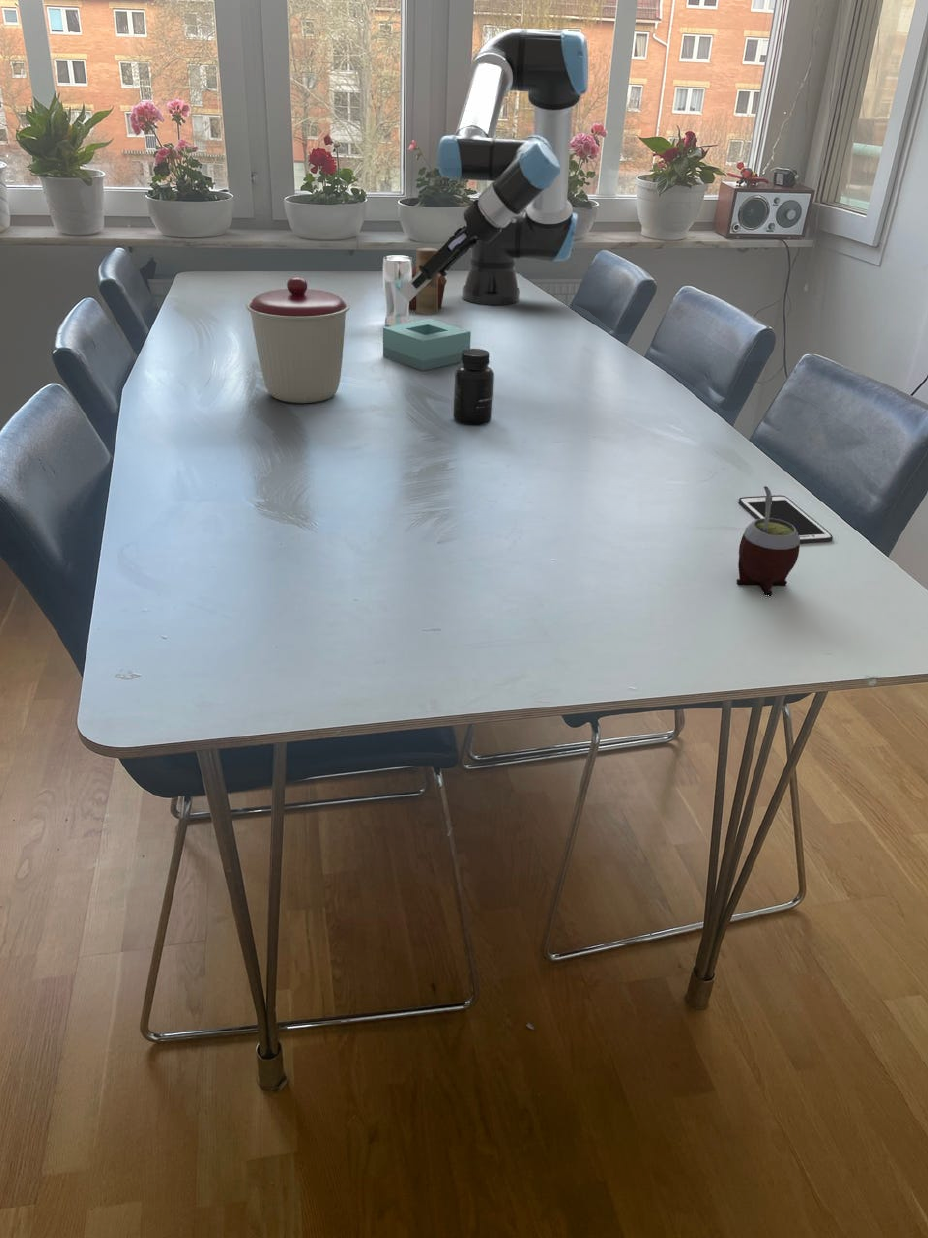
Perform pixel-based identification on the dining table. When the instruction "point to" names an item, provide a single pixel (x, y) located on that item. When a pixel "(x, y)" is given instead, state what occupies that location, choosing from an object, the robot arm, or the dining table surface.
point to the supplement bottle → (473, 388)
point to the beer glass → (396, 288)
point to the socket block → (425, 343)
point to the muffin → (441, 287)
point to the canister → (299, 341)
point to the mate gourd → (767, 551)
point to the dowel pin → (429, 293)
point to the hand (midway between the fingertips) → (410, 293)
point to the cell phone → (788, 517)
